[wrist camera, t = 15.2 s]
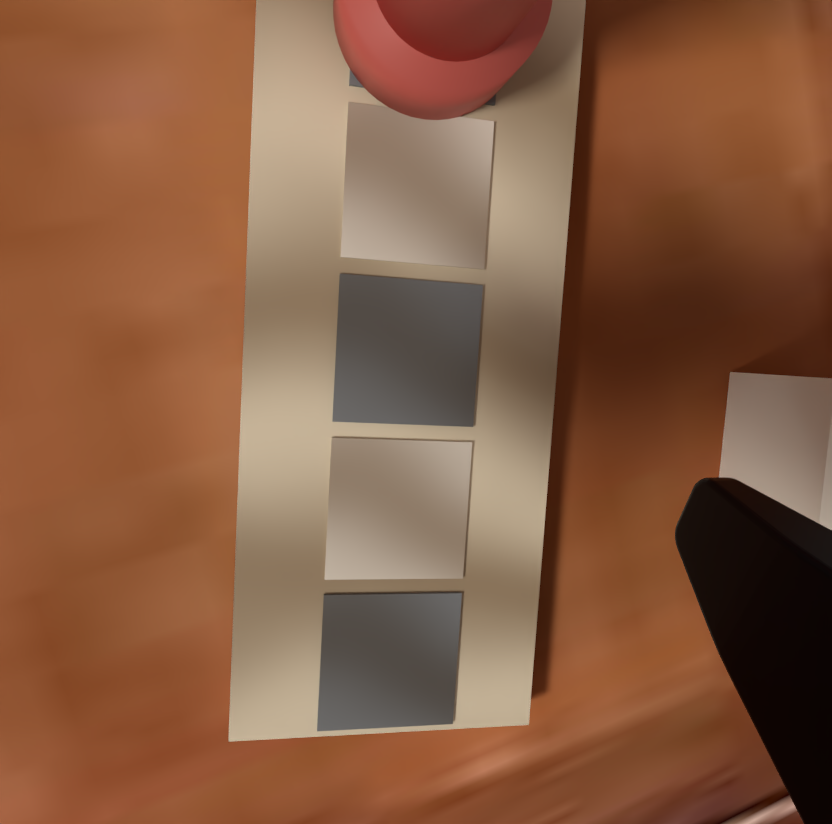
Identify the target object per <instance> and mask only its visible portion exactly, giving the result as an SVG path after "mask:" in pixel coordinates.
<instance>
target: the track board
mask: <svg viewBox="0 0 832 824" xmlns="http://www.w3.org/2000/svg"><path fill="white" fill-rule="evenodd" d="M333 1H334V0H256V23H255V50H254V76H253V103H252V129H251V156H250V183H249V209H248V236H247V263H246V289H245V316H244V343H243V369H242V396H241V422H240V449H239V476H238V502H237V529H236V556H235V582H234V609H233V636H232V662H231V689H230V715H229V741H247V740H265V739H283V738H301V737H319V736H337V735H355V734H373V733H391V732H409V731H427V730H445V729H463V728H481V727H499V726H517V725H529V716H530V703H531V690H532V678H533V665H534V652H535V640H536V627H537V614H538V602H539V589H540V576H541V564H542V551H543V538H544V526H545V513H546V500H547V488H548V475H549V462H550V450H551V437H552V425H553V412H554V399H555V387H556V374H557V361H558V349H559V336H560V323H561V311H562V298H563V285H564V273H565V260H566V247H567V235H568V222H569V209H570V197H571V184H572V171H573V159H574V146H575V133H576V121H577V108H578V95H579V83H580V70H581V57H582V45H583V32H584V19H585V7H586V0H552V7H551V12H550V16H549V20H548V23H547V26H546V28H545V31H544V33H543V36H542V38H541V40H540V41H539V43H538V45H537V47H536V48H535V50H534V51H533V52H532V54H531V55H530V56H529V58H528V59H527V60H526V61H525V62H524V63H523V65H522V66H521V67H520V68H519V69H518V70H517V71H516V72H515V73H514V74H513V76H512V77H511V78H510V79H509V80H508V81H507V82H506V83H505V84H504V86H503V87H502V88H501V89H500V90H499V91H498V92H497V93H496V94H495V95H494V96H493V97H492V98H491V99H490V100H489V101H488V102H486V103H485V104H484V105H482V106H481V107H479V108H477V109H476V110H474V111H472V112H470V113H468V114H465V115H462V116H460V117H455V118H451V119H444V120H426V119H419V118H414V117H410V116H408V115H405V114H402V113H399V112H397V111H395V110H393V109H391V108H389V107H387V106H386V105H384V104H383V103H381V102H380V101H378V100H377V99H376V98H375V97H374V96H372V95H371V94H370V93H369V92H368V91H367V90H366V89H365V88H364V87H363V86H362V85H361V83H360V82H359V81H358V80H357V78H356V77H355V76H354V74H353V73H352V71H351V70H350V68H349V66H348V64H347V63H346V61H345V59H344V57H343V54H342V52H341V49H340V47H339V44H338V40H337V36H336V33H335V26H334V19H333Z"/></svg>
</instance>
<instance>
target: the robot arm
mask: <svg viewBox="0 0 832 824" xmlns="http://www.w3.org/2000/svg"><path fill="white" fill-rule="evenodd" d="M675 540H676V545H677V548H678V551H679V553H680V556H681V559H682V561H683V564H684V566H685V569H686V571H687V574H688V577H689V579H690V582H691V584H692V587H693V590H694V592H695V595H696V597H697V600H698V602H699V605H700V608H701V610H702V613H703V615H704V618H705V620H706V623H707V626H708V628H709V631H710V633H711V636H712V638H713V641H714V643H715V645H716V648H717V650H718V653H719V655H720V657H721V659H722V661H723V663H724V665H725V668H726V670H727V672H728V674H729V676H730V678H731V680H732V682H733V684H734V686H735V688H736V690H737V692H738V694H739V696H740V698H741V700H742V702H743V704H744V706H745V708H746V710H747V712H748V714H749V715H750V717H751V719H752V721H753V723H754V725H755V727H756V729H757V731H758V733H759V735H760V737H761V739H762V741H763V743H764V745H765V747H766V749H767V751H768V753H769V755H770V757H771V759H772V761H773V763H774V765H775V767H776V769H777V771H778V773H779V775H780V777H781V779H782V781H783V783H784V785H785V787H786V789H787V791H788V793H789V795H790V797H791V799H792V801H793V803H794V805H795V807H796V809H797V811H798V813H799V815H800V817H801V819H802V821H803V823H804V824H832V530H830V529H828V528H826V527H825V526H823V525H821V524H819V523H817V522H815V521H813V520H811V519H810V518H808V517H806V516H804V515H802V514H800V513H798V512H796V511H795V510H793V509H791V508H789V507H787V506H785V505H783V504H782V503H780V502H778V501H776V500H774V499H772V498H770V497H768V496H767V495H765V494H763V493H761V492H759V491H757V490H755V489H753V488H752V487H750V486H748V485H746V484H744V483H742V482H740V481H739V480H736V479H734V478H728V477H720V478H704V479H701V480H700V481H698V482H697V483H696V484H695V486H694V488H693V490H692V492H691V494H690V496H689V499H688V501H687V503H686V505H685V507H684V510H683V512H682V514H681V516H680V518H679V521H678V523H677V526H676V530H675Z"/></svg>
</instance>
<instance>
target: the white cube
mask: <svg viewBox="0 0 832 824" xmlns="http://www.w3.org/2000/svg"><path fill="white" fill-rule="evenodd" d="M720 477H728V478H734V479H736V480H739V481H740V482H742V483H744V484H746V485H748V486H750V487H752V488H753V489H755V490H757V491H759V492H761V493H763V494H765V495H767V496H768V497H770V498H772V499H774V500H776V501H778V502H780V503H782V504H783V505H785V506H787V507H789V508H791V509H793V510H795V511H796V512H798V513H800V514H802V515H804V516H806V517H808V518H810V519H811V520H813V521H815V522H817V523H819V524H821V525H823V526H825V527H826V528H828V529H830V530H832V378H818V377H802V376H786V375H770V374H754V373H738V372H730V377H729V387H728V396H727V406H726V415H725V425H724V434H723V444H722V454H721V463H720V473H719V478H720Z"/></svg>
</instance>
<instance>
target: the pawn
mask: <svg viewBox="0 0 832 824" xmlns="http://www.w3.org/2000/svg"><path fill="white" fill-rule="evenodd" d="M551 7H552V0H334V1H333V19H334V26H335V33H336V36H337V40H338V44H339V47H340V49H341V52H342V54H343V57H344V59H345V61H346V63H347V64H348V66H349V68H350V70H351V71H352V73H353V74H354V76H355V77H356V78H357V80H358V81H359V82H360V83H361V85H362V86H363V87H364V88H365V89H366V90H367V91H368V92H369V93H370V94H371V95H372V96H374V97H375V98H376V99H377V100H378V101H380V102H381V103H383V104H384V105H386V106H387V107H389V108H391V109H393V110H395V111H397V112H399V113H402V114H405V115H408V116H410V117H414V118H419V119H426V120H444V119H451V118H455V117H460V116H462V115H465V114H468V113H470V112H472V111H474V110H476V109H477V108H479V107H481V106H482V105H484V104H485V103H486V102H488V101H489V100H490V99H491V98H492V97H493V96H494V95H495V94H496V93H497V92H498V91H499V90H500V89H501V88H502V87H503V86H504V84H505V83H506V82H507V81H508V80H509V79H510V78H511V77H512V76H513V74H514V73H515V72H516V71H517V70H518V69H519V68H520V67H521V66H522V65H523V63H524V62H525V61H526V60H527V59H528V58H529V56H530V55H531V54H532V52H533V51H534V50H535V48H536V47H537V45H538V43H539V41H540V40H541V38H542V36H543V33H544V31H545V28H546V26H547V23H548V20H549V16H550V12H551Z"/></svg>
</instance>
